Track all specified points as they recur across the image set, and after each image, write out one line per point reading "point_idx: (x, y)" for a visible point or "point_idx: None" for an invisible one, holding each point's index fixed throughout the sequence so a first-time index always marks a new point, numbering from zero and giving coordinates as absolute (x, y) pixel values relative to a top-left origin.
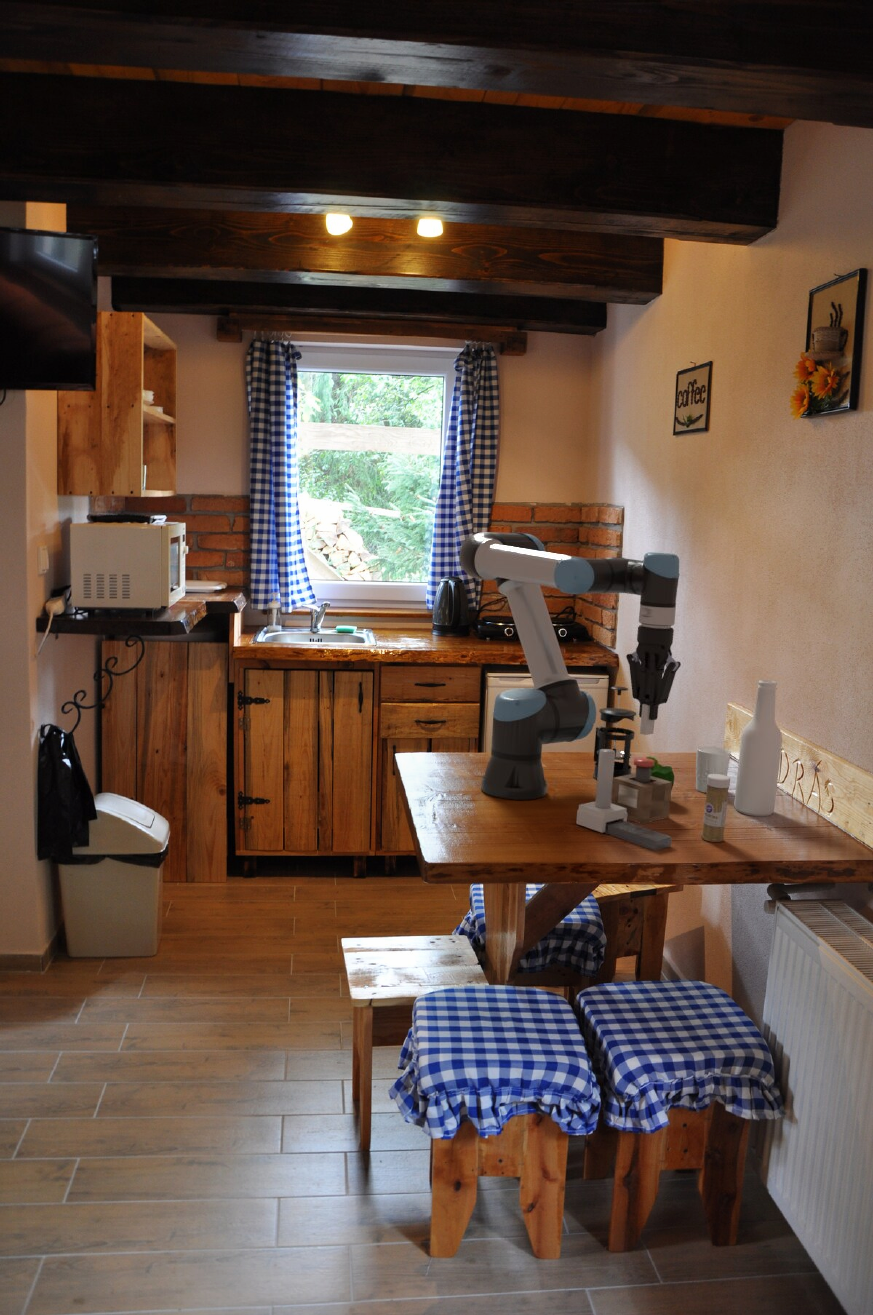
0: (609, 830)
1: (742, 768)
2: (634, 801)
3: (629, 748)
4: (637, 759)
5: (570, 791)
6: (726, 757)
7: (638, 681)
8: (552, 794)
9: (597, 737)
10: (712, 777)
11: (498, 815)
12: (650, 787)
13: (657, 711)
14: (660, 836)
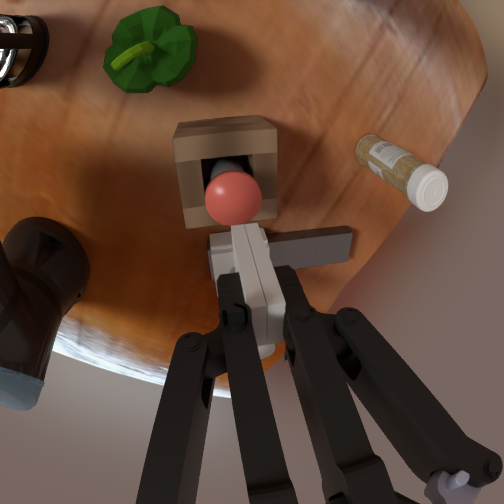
0: None
1: None
2: None
3: (8, 34)
4: (218, 211)
5: (57, 178)
6: None
7: (199, 433)
8: (66, 217)
9: None
10: (428, 210)
11: (142, 328)
12: (276, 204)
13: (302, 291)
14: (342, 244)
